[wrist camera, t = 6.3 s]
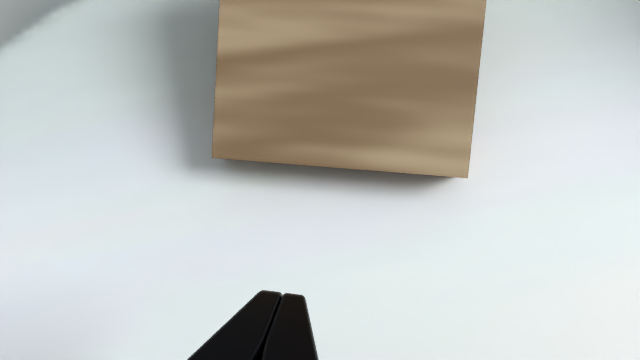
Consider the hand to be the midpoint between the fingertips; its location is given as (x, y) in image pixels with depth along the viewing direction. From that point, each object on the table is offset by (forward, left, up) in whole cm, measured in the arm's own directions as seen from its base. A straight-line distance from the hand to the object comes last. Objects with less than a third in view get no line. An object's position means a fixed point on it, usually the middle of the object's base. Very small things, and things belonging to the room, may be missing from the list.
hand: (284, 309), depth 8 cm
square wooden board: (+5, +2, -9) cm, 10 cm away
